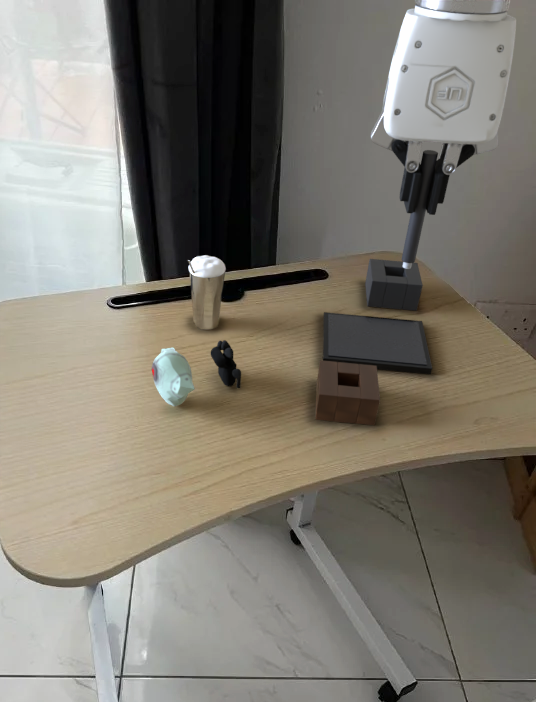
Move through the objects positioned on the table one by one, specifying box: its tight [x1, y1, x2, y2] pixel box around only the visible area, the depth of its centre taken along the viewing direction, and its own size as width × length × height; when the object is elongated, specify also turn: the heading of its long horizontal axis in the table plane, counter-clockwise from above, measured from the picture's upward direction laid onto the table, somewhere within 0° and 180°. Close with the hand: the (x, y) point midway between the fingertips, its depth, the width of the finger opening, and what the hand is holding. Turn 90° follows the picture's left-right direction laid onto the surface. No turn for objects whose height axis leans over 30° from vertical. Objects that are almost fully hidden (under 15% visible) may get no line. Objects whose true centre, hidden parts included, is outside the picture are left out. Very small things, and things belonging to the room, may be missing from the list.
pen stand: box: [314, 359, 381, 426], centre depth 73 cm, size 6×6×4 cm
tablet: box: [322, 311, 433, 375], centre depth 84 cm, size 13×11×1 cm
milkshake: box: [187, 254, 227, 331], centre depth 83 cm, size 5×5×10 cm
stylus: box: [401, 149, 439, 269], centre depth 66 cm, size 1×1×12 cm
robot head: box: [151, 347, 196, 407], centre depth 71 cm, size 8×4×7 cm, turn 20°
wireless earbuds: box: [210, 339, 242, 390], centre depth 75 cm, size 7×2×5 cm, turn 19°
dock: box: [364, 258, 424, 312], centre depth 93 cm, size 7×7×4 cm
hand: (419, 207), depth 66 cm, fingers closed on stylus, 1 cm apart
